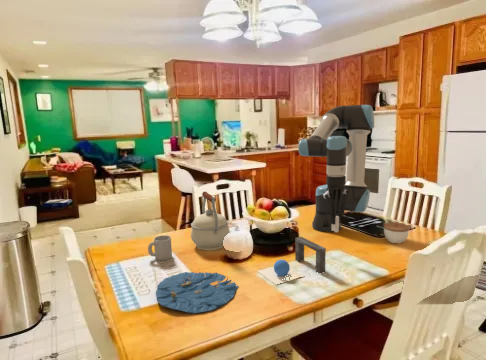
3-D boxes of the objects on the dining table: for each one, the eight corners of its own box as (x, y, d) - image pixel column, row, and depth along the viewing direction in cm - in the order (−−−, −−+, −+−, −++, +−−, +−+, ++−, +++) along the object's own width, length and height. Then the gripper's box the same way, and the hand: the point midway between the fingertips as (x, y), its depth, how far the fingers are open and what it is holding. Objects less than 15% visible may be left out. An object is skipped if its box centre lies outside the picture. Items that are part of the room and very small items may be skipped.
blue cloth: (196, 269, 141) (196, 257, 140) (254, 290, 122) (253, 276, 121) (133, 296, 118) (132, 282, 117) (192, 326, 99) (191, 310, 98)
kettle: (237, 249, 156) (235, 196, 151) (197, 256, 149) (194, 201, 145) (220, 233, 178) (218, 186, 174) (185, 238, 172) (182, 190, 167)
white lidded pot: (412, 245, 155) (413, 225, 153) (388, 246, 155) (389, 226, 153) (402, 237, 165) (403, 218, 164) (379, 237, 166) (380, 219, 164)
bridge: (319, 273, 130) (319, 249, 128) (295, 260, 143) (295, 238, 141) (325, 272, 131) (325, 248, 129) (301, 258, 144) (301, 236, 142)
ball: (279, 254, 132) (285, 266, 134) (268, 263, 129) (273, 275, 131) (289, 259, 127) (294, 271, 129) (278, 269, 124) (283, 281, 126)
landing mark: (257, 271, 133) (257, 270, 133) (284, 264, 139) (284, 263, 139) (275, 285, 122) (275, 284, 122) (304, 276, 128) (304, 276, 128)
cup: (173, 259, 147) (172, 239, 146) (149, 263, 144) (148, 243, 142) (170, 253, 154) (169, 234, 152) (147, 257, 150) (146, 237, 149)
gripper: (330, 178, 130) (329, 237, 135) (355, 174, 136) (353, 230, 141) (317, 175, 137) (316, 231, 141) (341, 172, 143) (340, 225, 147)
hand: (335, 231), depth 141 cm, fingers closed
